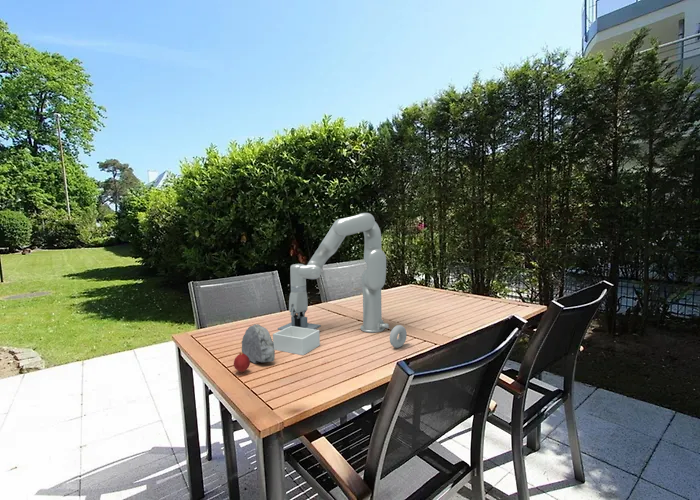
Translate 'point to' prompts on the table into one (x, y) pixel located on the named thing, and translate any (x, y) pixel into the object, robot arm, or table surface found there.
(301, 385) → the table surface
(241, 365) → the onion
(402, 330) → the donut
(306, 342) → the tub
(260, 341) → the decorative rock
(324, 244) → the robot arm
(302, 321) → the lid
